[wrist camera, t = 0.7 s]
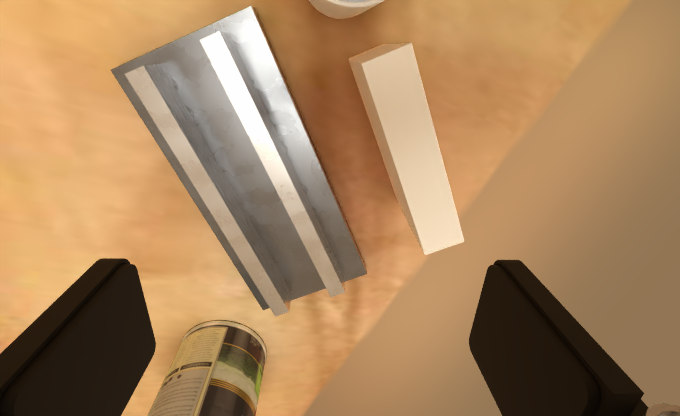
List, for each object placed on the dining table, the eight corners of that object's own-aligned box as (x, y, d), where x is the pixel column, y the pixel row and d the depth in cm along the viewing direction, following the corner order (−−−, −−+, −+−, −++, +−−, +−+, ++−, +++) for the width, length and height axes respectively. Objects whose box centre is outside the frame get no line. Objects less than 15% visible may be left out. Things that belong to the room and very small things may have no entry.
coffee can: (274, 327, 40) (253, 456, 28) (259, 386, 45) (235, 522, 32) (183, 312, 39) (116, 442, 26) (176, 375, 43) (115, 514, 30)
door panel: (385, 42, 28) (416, 40, 19) (428, 188, 34) (468, 240, 25) (347, 58, 29) (361, 63, 20) (397, 200, 34) (425, 255, 25)
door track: (254, 7, 27) (242, 1, 23) (365, 265, 37) (371, 292, 33) (120, 68, 28) (86, 72, 24) (265, 300, 39) (258, 330, 35)
